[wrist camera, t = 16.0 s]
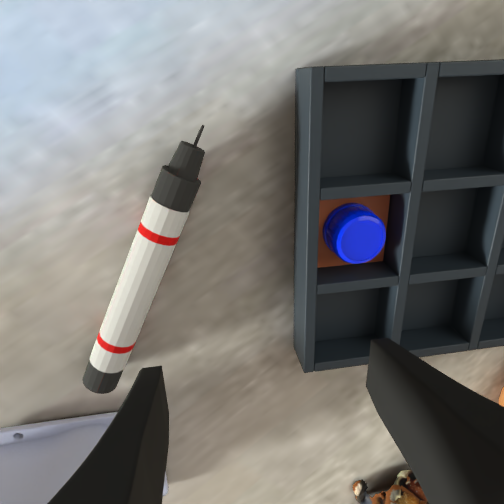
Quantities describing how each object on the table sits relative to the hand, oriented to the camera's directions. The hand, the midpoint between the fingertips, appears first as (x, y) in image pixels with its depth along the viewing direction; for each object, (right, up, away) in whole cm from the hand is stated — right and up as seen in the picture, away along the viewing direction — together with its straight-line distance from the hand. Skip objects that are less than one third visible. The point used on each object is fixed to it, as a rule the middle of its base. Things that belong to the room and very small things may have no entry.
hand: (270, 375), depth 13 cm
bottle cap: (+5, +5, +8) cm, 11 cm away
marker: (-6, +4, +8) cm, 11 cm away
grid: (+10, +6, +9) cm, 15 cm away
